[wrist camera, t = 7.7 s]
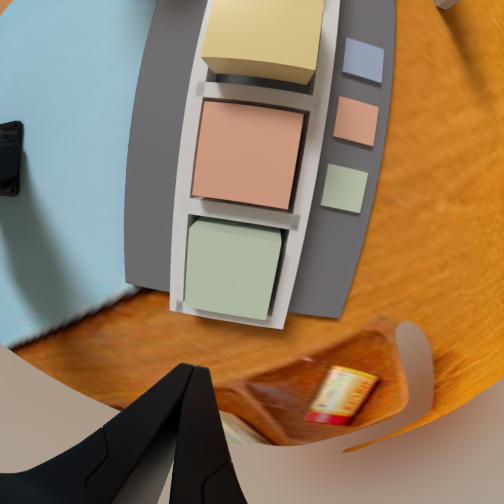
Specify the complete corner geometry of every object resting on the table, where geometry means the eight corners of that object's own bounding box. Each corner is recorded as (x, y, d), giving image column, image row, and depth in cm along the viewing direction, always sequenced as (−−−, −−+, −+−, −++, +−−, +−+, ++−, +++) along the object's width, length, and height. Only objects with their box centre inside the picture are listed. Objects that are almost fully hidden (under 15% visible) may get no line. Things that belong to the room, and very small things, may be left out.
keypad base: (130, 278, 19) (111, 297, 16) (180, -44, 10) (168, -65, 7) (337, 312, 19) (346, 337, 16) (389, -18, 10) (404, -36, 7)
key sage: (195, 284, 17) (184, 306, 15) (201, 215, 16) (189, 227, 13) (266, 296, 17) (265, 320, 15) (279, 227, 16) (281, 242, 13)
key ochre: (213, 73, 11) (200, 56, 9) (228, 1, 10) (220, -24, 7) (306, 85, 11) (315, 70, 9) (316, 12, 10) (325, -12, 7)
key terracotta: (204, 187, 15) (192, 195, 13) (215, 109, 14) (204, 101, 11) (284, 199, 15) (287, 209, 13) (297, 120, 13) (303, 114, 11)
